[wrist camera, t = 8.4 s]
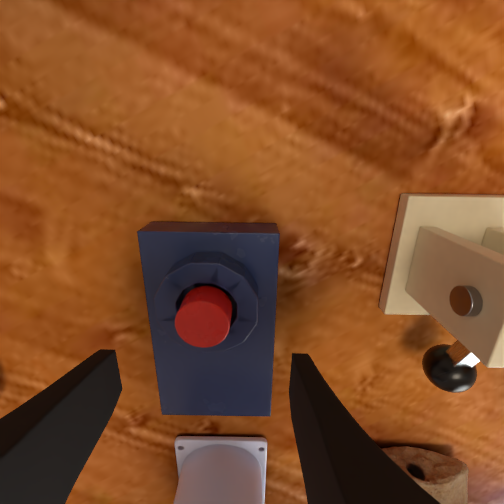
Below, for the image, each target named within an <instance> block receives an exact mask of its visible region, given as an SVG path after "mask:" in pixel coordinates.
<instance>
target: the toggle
mask: <svg viewBox="0 0 504 504" xmlns="http://www.w3.org/2000/svg"><path fill="white" fill-rule="evenodd" d="M479 361H480V360H479V359H478V358H477V357H476V356H475V355H473V354H472V353H471V352H470V351H469V350H468V349H467V348H466V347H465V346H464V345H463V344H462V343H460V342H459V341H458V340H457V341H456V342H455V343H454V344H453V345H446V344H441V345H436V346H433V347H431V348H430V349H428V350H427V351H426V353H425V354H424V356H423V361H422V365H423V370H424V372H425V374H426V376H427V378H428V379H429V380H430V381H431V382H432V383H433V384H434V385H435V386H437V387H438V388H440V389H442V390H445V391H448V392H463V391H466V390H468V389H469V388H471V387H472V386H473V384H474V383H475V381H476V377H477V370H476V366H475V364H477V363H478V362H479Z"/></svg>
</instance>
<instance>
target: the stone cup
mask: <svg viewBox="0 0 504 504" xmlns="http://www.w3.org/2000/svg"><path fill="white" fill-rule="evenodd" d="M382 450H383V451H384V452H385V453H386V454H387V455H388V456H389V457H390V458H391V459H392V460H393V461H394V462H395V463H396V464H397V465H398V466H399V467H400V468H401V469H402V470H403V471H404V472H406V473H407V474H408V475H409V476H410V477H411V478H412V479H413V480H414V481H415V482H416V483H417V484H418V485H419V486H421V487H422V488H423V489H424V490H425V491H426V492H428V493H429V494H430V495H431V496H432V497H434V498H435V499H436V500H437V501H438V502H439V503H441V504H467V499H468V493H467V482H468V467H467V465H466V464H465V463H464V462H462V461H460V460H458V459H456V458H452V457H449V456H445V455H442V454H440V453H437V452H433V451H429V450H424V449H420V448H416V447H408V446H403V447H390V448H383V449H382Z"/></svg>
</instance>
